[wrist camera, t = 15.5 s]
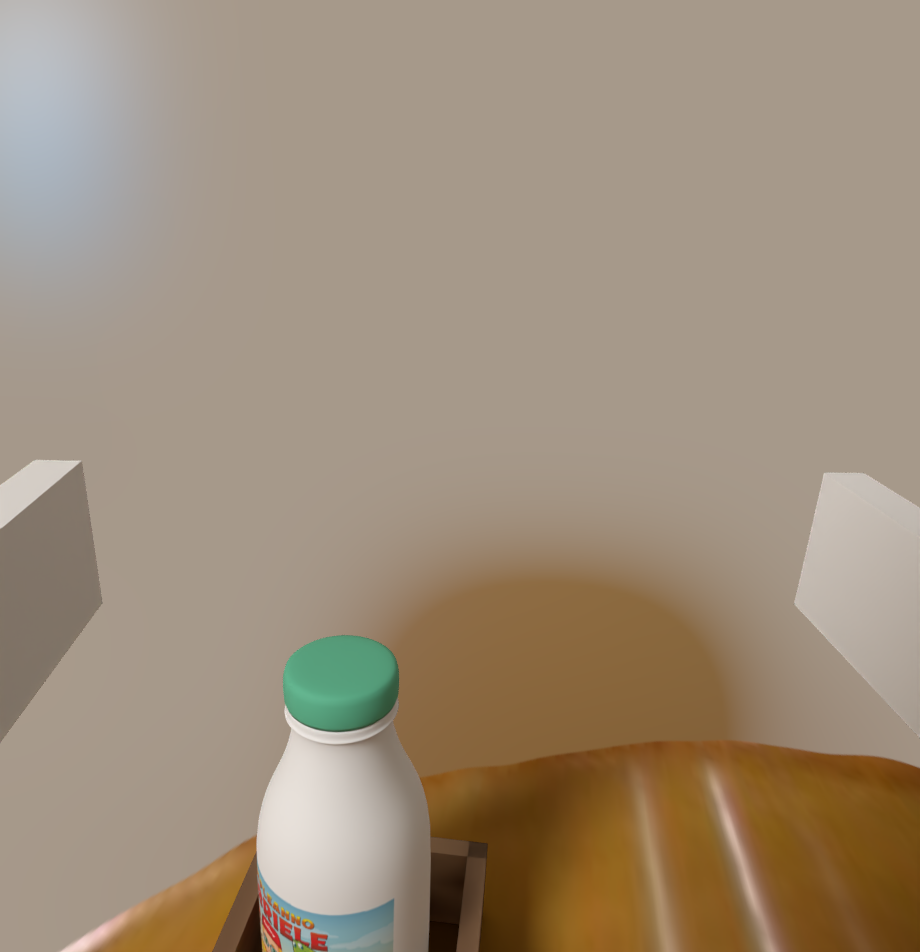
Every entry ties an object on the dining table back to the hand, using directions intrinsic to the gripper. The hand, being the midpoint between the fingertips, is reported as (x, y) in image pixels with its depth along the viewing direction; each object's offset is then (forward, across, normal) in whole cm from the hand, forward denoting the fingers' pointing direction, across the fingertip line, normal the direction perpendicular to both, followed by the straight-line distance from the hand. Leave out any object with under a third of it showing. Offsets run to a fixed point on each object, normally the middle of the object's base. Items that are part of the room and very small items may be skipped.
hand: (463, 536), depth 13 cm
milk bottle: (+14, -3, -32) cm, 35 cm away
